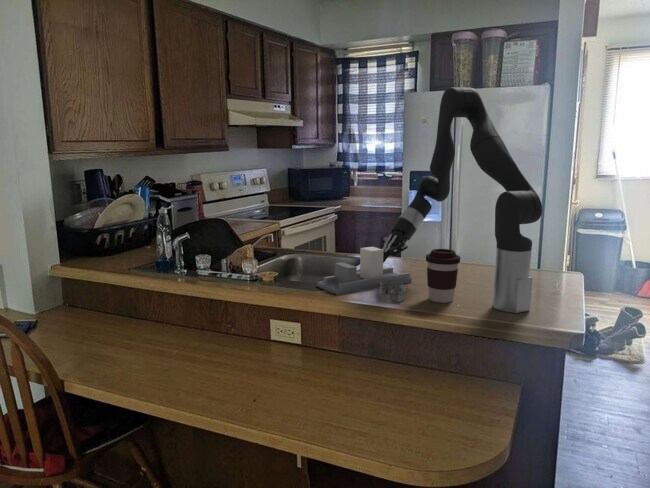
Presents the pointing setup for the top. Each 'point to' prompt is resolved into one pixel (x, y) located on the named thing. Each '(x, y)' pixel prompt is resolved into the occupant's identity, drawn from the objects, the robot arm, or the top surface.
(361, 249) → the block
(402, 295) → the egg carton
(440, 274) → the coffee cup
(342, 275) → the grey rectangular block
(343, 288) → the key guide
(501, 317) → the top surface
